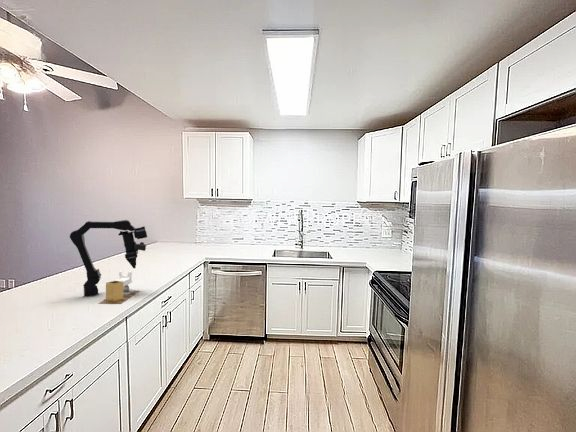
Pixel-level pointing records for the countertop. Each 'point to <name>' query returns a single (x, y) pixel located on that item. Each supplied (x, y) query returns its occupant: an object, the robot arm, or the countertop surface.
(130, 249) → the robot arm
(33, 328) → the countertop surface
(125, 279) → the bracket
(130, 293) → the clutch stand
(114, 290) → the gold square tube
